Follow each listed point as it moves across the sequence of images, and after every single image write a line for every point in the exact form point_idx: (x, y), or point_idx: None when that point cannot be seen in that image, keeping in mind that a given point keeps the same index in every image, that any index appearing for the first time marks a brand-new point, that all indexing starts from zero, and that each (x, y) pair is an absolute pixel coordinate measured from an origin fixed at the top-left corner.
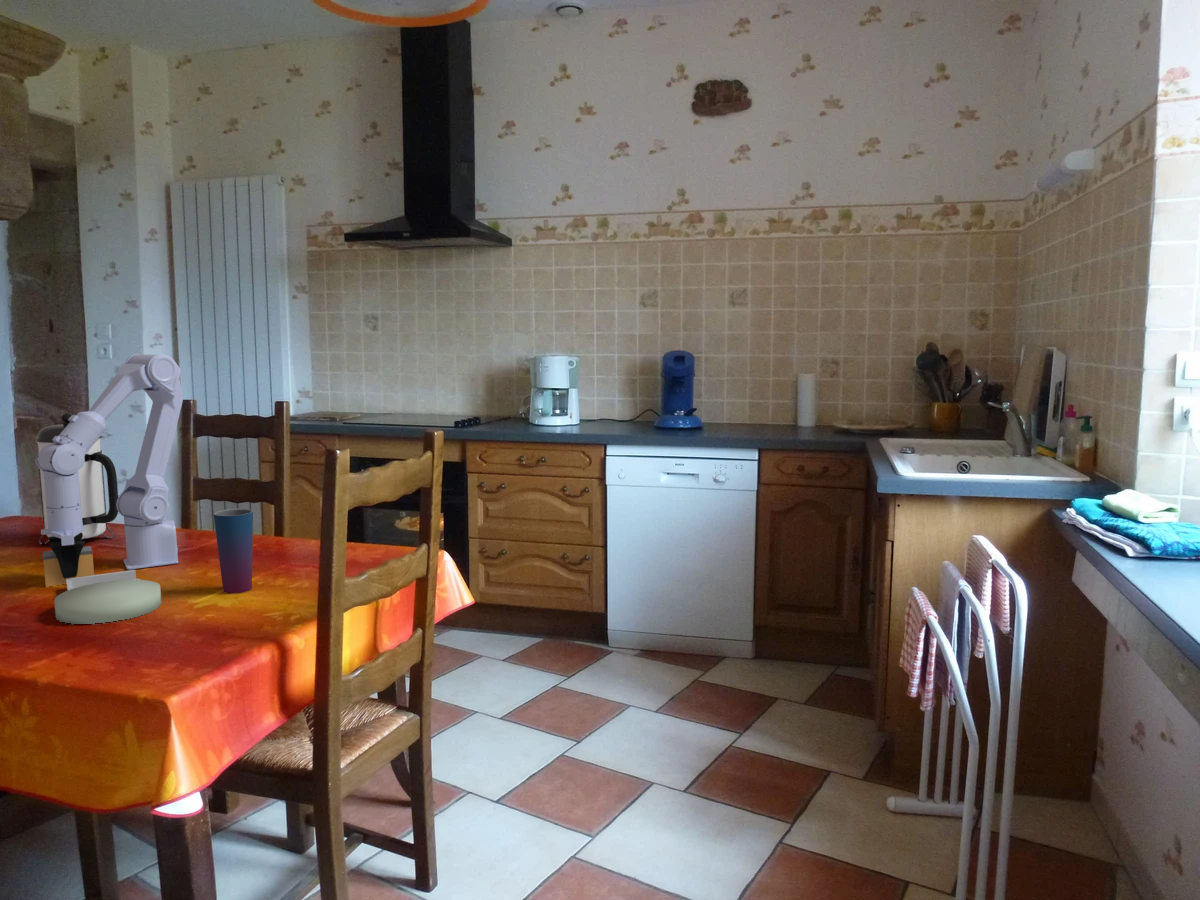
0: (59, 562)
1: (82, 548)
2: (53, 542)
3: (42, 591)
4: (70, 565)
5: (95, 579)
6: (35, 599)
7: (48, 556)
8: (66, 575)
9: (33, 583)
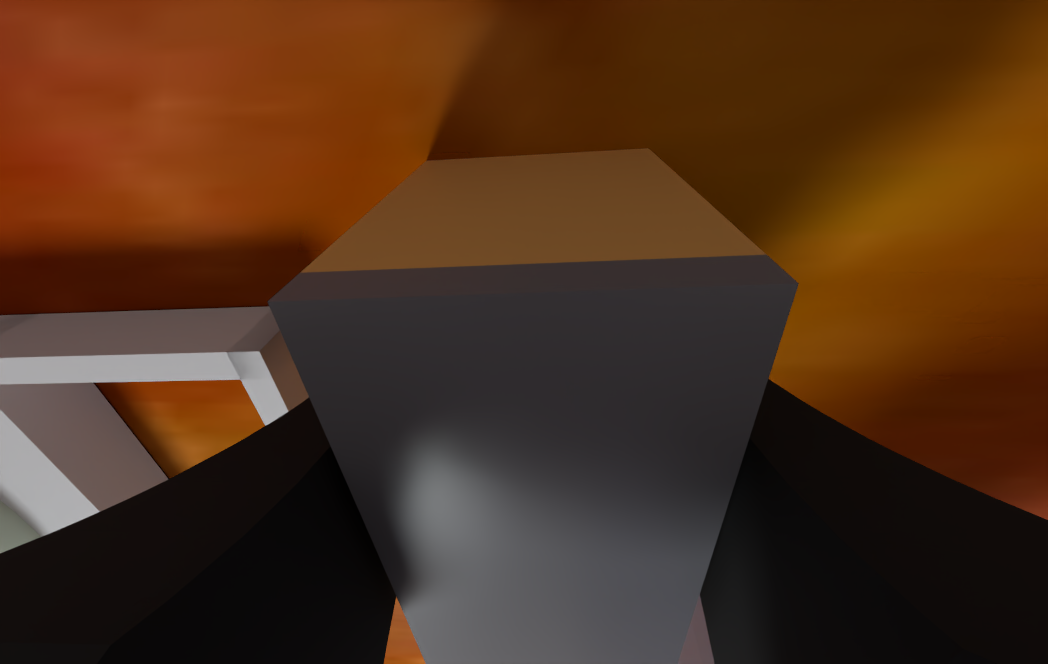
0: (282, 416)
1: (603, 641)
2: (870, 600)
3: (290, 137)
4: None
5: None
6: (23, 89)
7: (302, 371)
8: None
9: (651, 31)
